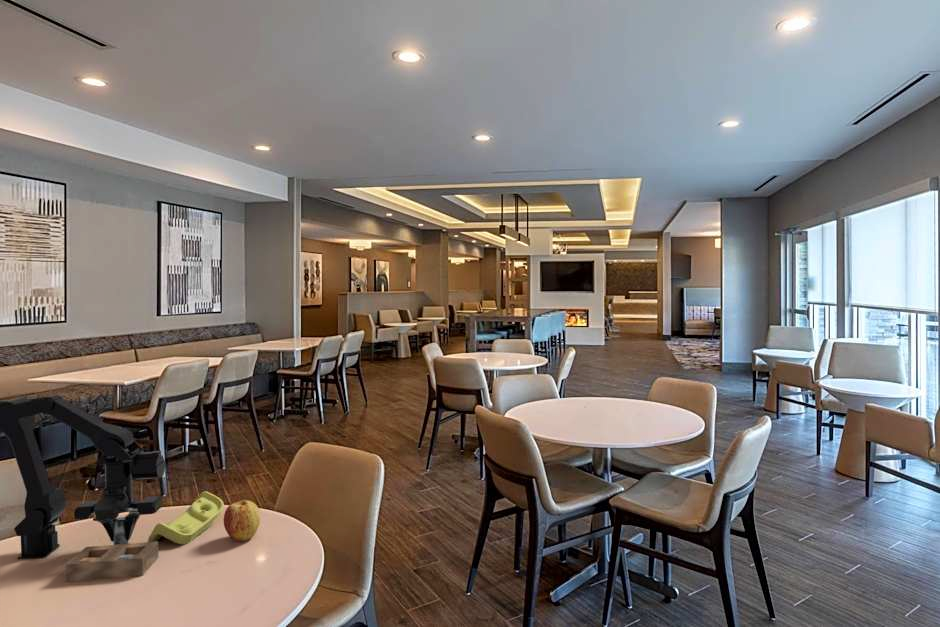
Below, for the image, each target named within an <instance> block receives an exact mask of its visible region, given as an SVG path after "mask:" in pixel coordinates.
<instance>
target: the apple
mask: <svg viewBox="0 0 940 627" xmlns="http://www.w3.org/2000/svg"><path fill="white" fill-rule="evenodd" d="M223 515H224V516H223V527H224V529H225V532H226V533H227V535H228V536H229V538H230V539H231V540H232V541H234V542H246V541H248V540H249V539H251V538H253V537H254V536H255V535H256V533H257V531H258V530H259V527H260V523H261V511H260V509H259V506H258V505H257V504H256V503H255V502H253V501H251V500H247V499H245V500H238V501H235V502H232V503H230V504H229V505H228V506H227V508H226V509H225V512H224V514H223Z"/></svg>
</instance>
